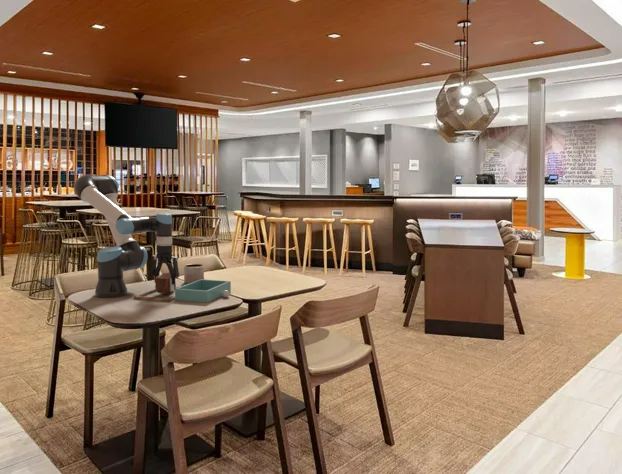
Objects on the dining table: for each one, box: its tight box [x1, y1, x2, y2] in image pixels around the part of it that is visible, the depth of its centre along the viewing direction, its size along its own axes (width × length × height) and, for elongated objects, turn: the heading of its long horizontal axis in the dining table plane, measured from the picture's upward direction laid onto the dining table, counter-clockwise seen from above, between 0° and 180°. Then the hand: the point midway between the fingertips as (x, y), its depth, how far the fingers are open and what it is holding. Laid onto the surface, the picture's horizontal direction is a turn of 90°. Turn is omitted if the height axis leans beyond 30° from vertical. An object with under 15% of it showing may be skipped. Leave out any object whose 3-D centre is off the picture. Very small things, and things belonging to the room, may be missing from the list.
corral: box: [133, 286, 180, 303], centre depth 264 cm, size 19×25×1 cm
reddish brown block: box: [154, 271, 177, 294], centre depth 265 cm, size 18×6×9 cm, turn 1°
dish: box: [174, 278, 232, 303], centre depth 262 cm, size 17×25×5 cm
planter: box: [183, 263, 205, 285], centre depth 294 cm, size 11×11×10 cm
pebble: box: [222, 290, 231, 298], centre depth 259 cm, size 4×4×4 cm
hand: (165, 289), depth 264 cm, fingers closed on reddish brown block, 7 cm apart
